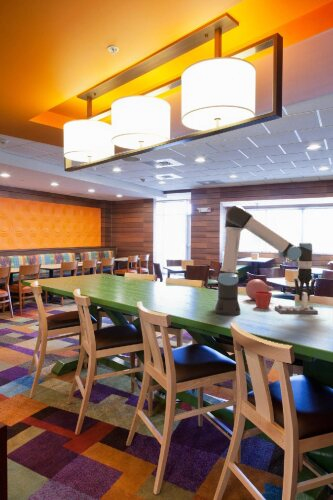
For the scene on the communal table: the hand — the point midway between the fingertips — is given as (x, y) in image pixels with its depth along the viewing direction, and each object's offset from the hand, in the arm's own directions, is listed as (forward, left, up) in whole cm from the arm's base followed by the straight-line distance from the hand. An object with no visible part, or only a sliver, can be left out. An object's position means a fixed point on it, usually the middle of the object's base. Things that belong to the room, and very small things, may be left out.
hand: (304, 306), depth 204 cm
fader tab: (0, 0, -1) cm, 1 cm away
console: (-5, 0, -4) cm, 6 cm away
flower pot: (-22, +12, -4) cm, 25 cm away
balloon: (-18, +36, -4) cm, 40 cm away
